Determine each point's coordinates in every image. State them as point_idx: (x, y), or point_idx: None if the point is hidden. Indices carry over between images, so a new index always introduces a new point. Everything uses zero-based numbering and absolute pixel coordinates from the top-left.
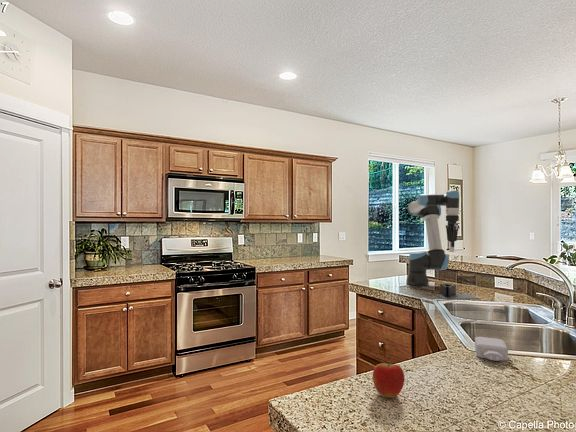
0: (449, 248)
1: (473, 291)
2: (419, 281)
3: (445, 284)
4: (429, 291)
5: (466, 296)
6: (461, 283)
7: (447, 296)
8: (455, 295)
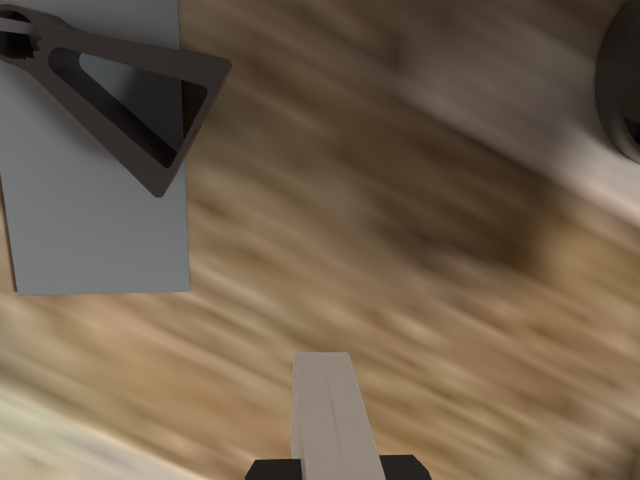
0: (337, 397)
1: None
2: (634, 42)
3: (201, 108)
4: (343, 9)
5: (88, 228)
6: (630, 450)
7: None
8: None
